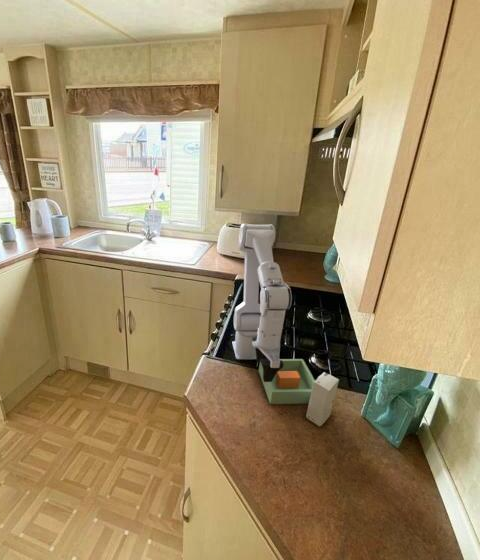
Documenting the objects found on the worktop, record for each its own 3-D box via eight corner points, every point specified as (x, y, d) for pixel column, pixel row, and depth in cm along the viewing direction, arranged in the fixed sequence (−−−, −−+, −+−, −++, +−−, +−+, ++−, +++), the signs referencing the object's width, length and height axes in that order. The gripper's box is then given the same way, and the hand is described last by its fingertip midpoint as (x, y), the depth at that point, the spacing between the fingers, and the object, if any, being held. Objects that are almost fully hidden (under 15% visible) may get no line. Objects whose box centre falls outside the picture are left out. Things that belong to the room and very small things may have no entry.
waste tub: (258, 370, 99) (260, 359, 97) (300, 370, 100) (302, 358, 98) (270, 404, 87) (272, 391, 85) (317, 403, 88) (321, 391, 86)
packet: (275, 381, 94) (277, 371, 93) (294, 381, 95) (297, 370, 93) (278, 388, 92) (280, 378, 90) (298, 388, 92) (300, 377, 90)
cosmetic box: (320, 427, 80) (330, 392, 75) (304, 417, 83) (312, 382, 78) (331, 414, 84) (341, 379, 79) (315, 404, 87) (324, 370, 82)
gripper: (248, 314, 86) (244, 354, 92) (261, 347, 73) (255, 390, 79) (274, 314, 86) (267, 353, 92) (291, 346, 73) (283, 390, 79)
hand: (263, 370), depth 85 cm, fingers open, 7 cm apart
